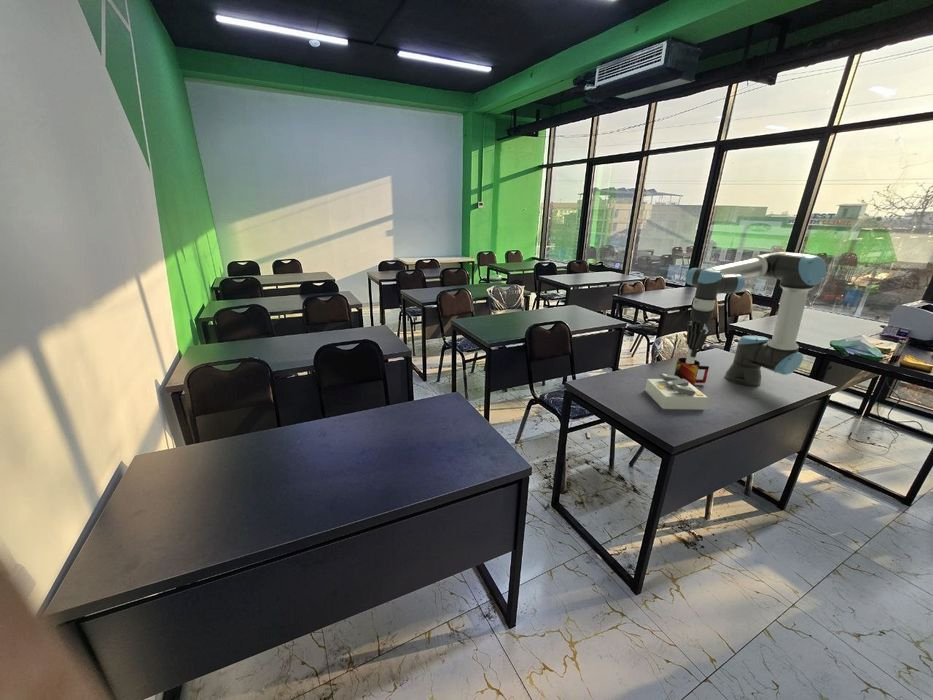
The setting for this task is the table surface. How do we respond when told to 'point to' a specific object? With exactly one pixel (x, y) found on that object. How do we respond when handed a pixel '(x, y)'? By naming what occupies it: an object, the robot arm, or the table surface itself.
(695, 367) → the mug
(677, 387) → the block
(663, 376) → the block
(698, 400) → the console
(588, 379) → the table surface
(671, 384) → the block
